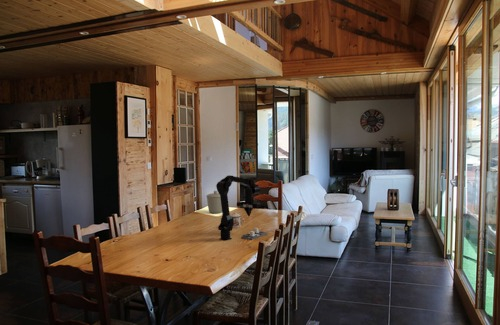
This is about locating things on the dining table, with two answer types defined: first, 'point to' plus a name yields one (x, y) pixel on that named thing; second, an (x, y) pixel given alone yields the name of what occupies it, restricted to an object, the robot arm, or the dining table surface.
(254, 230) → the tab
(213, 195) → the canister
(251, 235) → the tab
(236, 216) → the teacup with lid
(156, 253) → the dining table surface
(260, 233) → the switch bank
